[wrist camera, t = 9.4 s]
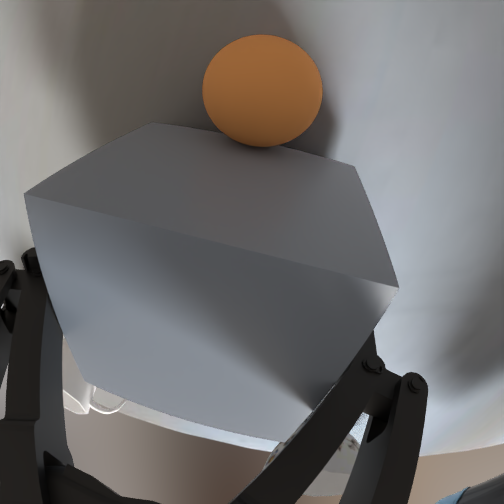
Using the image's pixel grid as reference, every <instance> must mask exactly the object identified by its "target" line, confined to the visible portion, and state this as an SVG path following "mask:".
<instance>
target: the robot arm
mask: <svg viewBox="0 0 504 504" xmlns="http://www.w3.org/2000/svg"><path fill="white" fill-rule="evenodd" d="M21 259H22V263H23V266H24V269H25V270H17V269H15V266H14V263H13V262H12V261H10V260H3V261H0V388H1V384H2V381H3V378H4V375H5V371H6V368H7V365H8V363H9V365H8V376H7V390H6V412H5V417H4V419H1V420H0V504H160V503H157V502H154V501H150V500H142V499H135V498H128V497H122V496H120V495H119V494H117V493H116V492H114V491H113V490H112V489H110V488H109V487H107V486H106V485H104V484H103V483H101V482H100V481H99V480H97V479H96V478H94V477H93V476H91V475H89V474H87V473H85V472H83V471H81V470H79V469H76V468H75V467H74V463H73V459H72V456H71V453H70V451H69V449H68V446H67V440H66V431H65V420H64V406H63V383H62V346H63V332H62V329H61V327H60V324H59V321H58V319H57V316H56V313H55V311H54V308H53V305H52V302H51V299H50V296H49V293H48V290H47V287H46V284H45V281H44V278H43V274H42V271H41V268H40V264H39V260H38V257H37V253H36V249H35V247H34V248H31V249H29V250H27V251H26V252H25V253H23V255H22V257H21ZM2 304H4V306H3V308H2V309H1V306H2ZM427 397H428V385H427V383H426V381H425V379H424V378H423V377H422V376H421V375H419V374H417V373H414V372H409V373H406V374H405V375H404V376H403V377H401V376H399V375H397V374H395V373H392V372H390V371H389V370H387V369H386V368H385V364H384V362H383V360H382V359H381V358H380V357H379V356H378V355H377V351H376V344H375V337H374V330H373V331H372V332H371V334H370V335H369V337H368V338H367V340H366V341H365V343H364V344H363V346H362V347H361V348H360V350H359V351H358V353H357V354H356V356H355V357H354V358H353V360H352V361H351V362H350V364H349V365H348V367H347V368H346V369H345V371H344V372H343V373H342V375H341V376H340V377H339V379H338V380H337V381H336V382H335V386H334V388H333V389H332V390H331V391H330V393H329V394H328V395H327V396H326V398H325V399H324V401H323V402H322V403H321V404H320V406H319V407H318V408H317V409H316V411H315V412H314V413H313V414H312V416H311V417H310V418H309V419H308V420H307V422H306V423H305V424H304V425H303V426H302V427H301V429H300V430H299V431H298V432H297V433H296V434H295V436H294V437H293V438H292V439H291V440H290V441H289V442H288V444H287V445H286V446H285V447H284V448H283V449H282V450H281V451H280V452H279V453H278V454H277V456H276V457H275V458H274V459H273V460H272V461H271V462H270V463H269V464H268V465H267V466H266V467H265V468H264V469H263V470H262V471H261V472H260V473H259V474H258V475H257V476H256V477H255V478H254V479H253V480H252V481H251V482H250V483H249V484H248V485H247V486H246V487H245V488H244V489H243V490H242V491H241V492H240V493H239V494H238V495H237V496H235V497H234V498H233V499H232V500H231V501H230V502H229V503H228V504H295V503H296V501H297V500H298V499H299V498H300V497H301V496H302V494H303V493H304V492H305V491H306V490H307V488H308V487H309V486H310V485H311V484H312V482H313V481H314V480H315V479H316V477H317V476H318V475H319V473H320V472H321V471H322V470H323V468H324V467H325V466H326V464H327V463H328V462H329V460H330V459H331V458H332V456H333V455H334V453H335V452H336V451H337V449H338V448H339V447H340V445H341V444H342V442H343V441H344V439H345V438H346V436H347V435H348V433H349V432H350V430H351V429H352V427H353V426H354V424H355V423H356V421H357V420H358V418H359V417H360V415H361V413H362V412H364V413H366V414H368V415H369V418H368V422H367V425H366V429H365V432H364V435H363V439H362V442H361V445H360V448H359V451H358V454H357V457H356V460H355V463H354V466H353V469H352V471H351V474H350V477H349V480H348V482H347V485H346V487H345V490H344V492H343V495H342V497H341V500H340V503H339V504H407V503H408V500H409V496H410V492H411V488H412V484H413V480H414V475H415V471H416V467H417V461H418V457H419V452H420V447H421V441H422V435H423V428H424V422H425V414H426V406H427ZM435 504H504V473H503V474H501V475H499V476H497V477H494V478H492V479H490V480H487V481H485V482H483V483H480V484H478V485H475V486H473V487H467V488H465V489H463V490H462V491H460V492H458V493H455V494H452V495H450V496H447V497H445V498H443V499H441V500H439V501H438V502H437V503H435Z"/></svg>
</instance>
